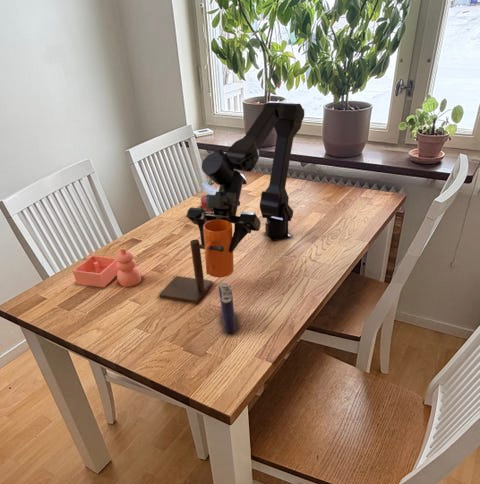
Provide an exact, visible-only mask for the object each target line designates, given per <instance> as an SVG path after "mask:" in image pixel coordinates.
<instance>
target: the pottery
mask: <svg viewBox="0 0 480 484" xmlns="http://www.w3.org/2000/svg"><path fill="white" fill-rule="evenodd" d="M136 262H137V261H136V260H135V259H134V254H133V252H131V251H127V249H126V248H121V249H119V252H118V253H117V254H116V255H115V257H111V256H110V257H109V256H101V255H93V254H92V255H90V256H89V257H88V258H87V259H85V260H83V262H82V263H81V264H79V265H78V266H77V267H75V268H74V269H73V270H72V274H73V277H74V280H75V282H76V284H77V285H82V286H83V285H85V286H90V287H97V288H105V287H106V286H108V285H109V283H111V282H112V281H113V280H114V279H115V278H117V281H118V283H119V285H121V286H122V287H125V288H126V287H127V288H128V287H129V288H130V287H133V286H134V287H135V286H136V285H138V284H140V282H141V281H142V273H141V271H140V270H139V268H138V267H136V265H137V263H136Z"/></svg>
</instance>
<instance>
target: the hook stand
mask: <svg viewBox="0 0 480 484" xmlns="http://www.w3.org/2000/svg"><path fill="white" fill-rule="evenodd" d="M205 246H206V245H201V244H200V240H199V239H191V240H190V250H191V259H192V266H193V272H194V278H193V277H186V276H180V275H175V276H174V277H173V279H172V280H171V281H170V282H169V283H168V284H167V285H166V286H165V287H164V289H162V290H161V292H160V293H158V295H159V298H160V299H167V300H172V301H173V300H174V301H178V302H186V303H191V304H198V303H199V302H200V300H201V299H202V298H203V297H204V296H205V294H206V292H207V291H208V290H209V289H210V287H211V286H212V285H213V282H212V280H208V279H207V280H206V279H205V278H204V270H203V261H202V253H201V250H205ZM208 250H216V251H219V252H223V251H224V247H223V246H219V247H218V246H210V247H209V248H208Z"/></svg>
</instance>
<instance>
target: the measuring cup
mask: <svg viewBox="0 0 480 484" xmlns="http://www.w3.org/2000/svg"><path fill="white" fill-rule="evenodd" d="M203 232H204V245H206V246H205V249H204V258H205V271H206V275H208V276H210V277H213V278H225V277H229V276H230V275H232V274H233V273H234V270H235V269H234V251H233V252H232V253H230V252H229V250H230V245H231V241H232V237H233V223H230V222H229V221H227V220H221V219H219V220H211V221H208V222H206V223H205V224H204V225H203ZM210 246H218V247H219V246H223V247H224V251H223V252H219V251H216V250H208V248H209V247H210Z"/></svg>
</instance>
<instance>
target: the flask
mask: <svg viewBox="0 0 480 484" xmlns="http://www.w3.org/2000/svg"><path fill="white" fill-rule="evenodd" d="M218 290H219V291H218V292H219V301H220V311H221V318H222V324H223V325H224V333H225V334H227V335H228V336H230V335H234V334H235V333H236V331H237V329H236V328H237V326H236V319H235V309H234V307H235V306H234V295H233V291H232V289H231V284H229V283H227V282H220V283H219V284H218Z"/></svg>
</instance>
